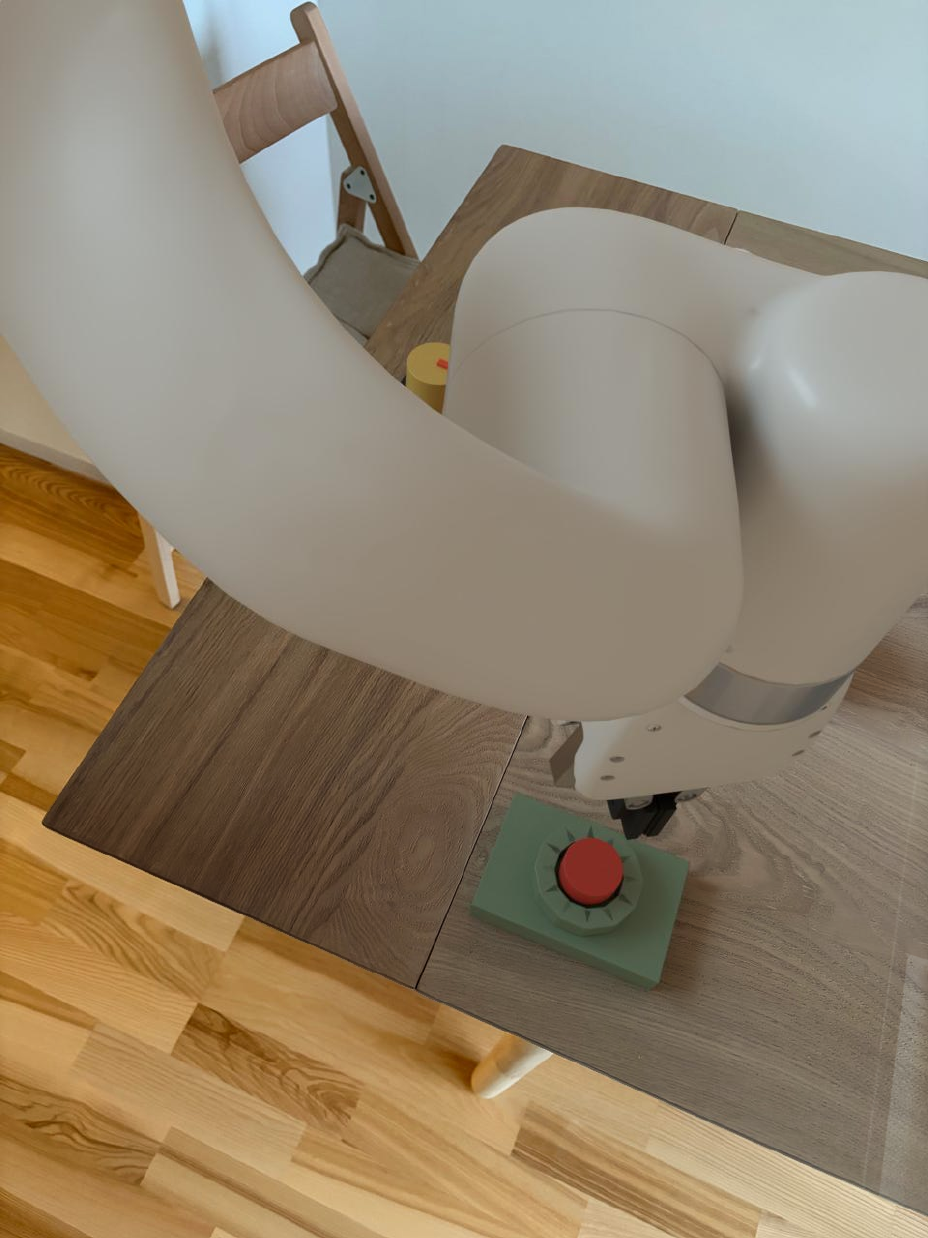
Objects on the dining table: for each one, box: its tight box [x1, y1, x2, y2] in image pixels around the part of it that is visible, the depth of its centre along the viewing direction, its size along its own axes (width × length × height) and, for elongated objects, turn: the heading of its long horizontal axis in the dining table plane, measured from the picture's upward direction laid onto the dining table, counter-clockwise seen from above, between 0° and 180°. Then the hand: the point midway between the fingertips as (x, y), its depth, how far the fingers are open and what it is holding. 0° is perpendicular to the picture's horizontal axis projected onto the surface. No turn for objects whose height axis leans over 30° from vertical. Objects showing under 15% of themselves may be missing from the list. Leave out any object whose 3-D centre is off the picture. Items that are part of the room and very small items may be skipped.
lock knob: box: [405, 342, 450, 415], centre depth 76 cm, size 5×5×6 cm
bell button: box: [559, 838, 623, 905], centre depth 57 cm, size 4×4×2 cm
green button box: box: [467, 791, 691, 991], centre depth 59 cm, size 12×8×4 cm, turn 69°
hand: (633, 810), depth 48 cm, fingers closed
